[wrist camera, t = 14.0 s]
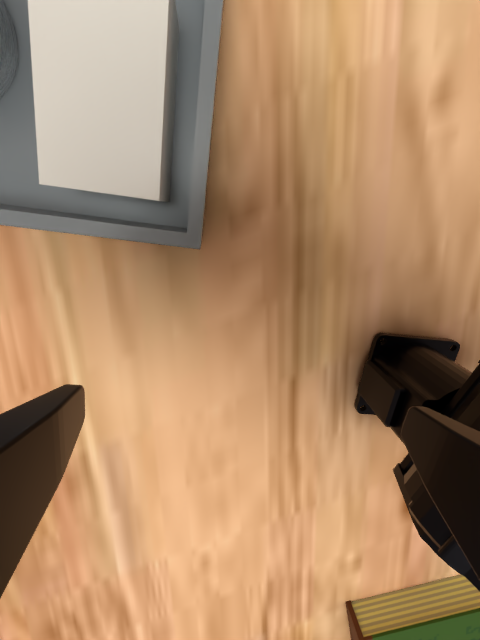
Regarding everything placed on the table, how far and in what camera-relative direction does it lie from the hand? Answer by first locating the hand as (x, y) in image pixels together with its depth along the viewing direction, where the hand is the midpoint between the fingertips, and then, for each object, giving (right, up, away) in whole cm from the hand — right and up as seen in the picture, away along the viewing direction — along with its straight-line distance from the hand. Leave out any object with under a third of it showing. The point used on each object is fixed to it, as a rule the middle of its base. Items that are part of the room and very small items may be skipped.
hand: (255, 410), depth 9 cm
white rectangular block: (-6, +13, +8) cm, 16 cm away
